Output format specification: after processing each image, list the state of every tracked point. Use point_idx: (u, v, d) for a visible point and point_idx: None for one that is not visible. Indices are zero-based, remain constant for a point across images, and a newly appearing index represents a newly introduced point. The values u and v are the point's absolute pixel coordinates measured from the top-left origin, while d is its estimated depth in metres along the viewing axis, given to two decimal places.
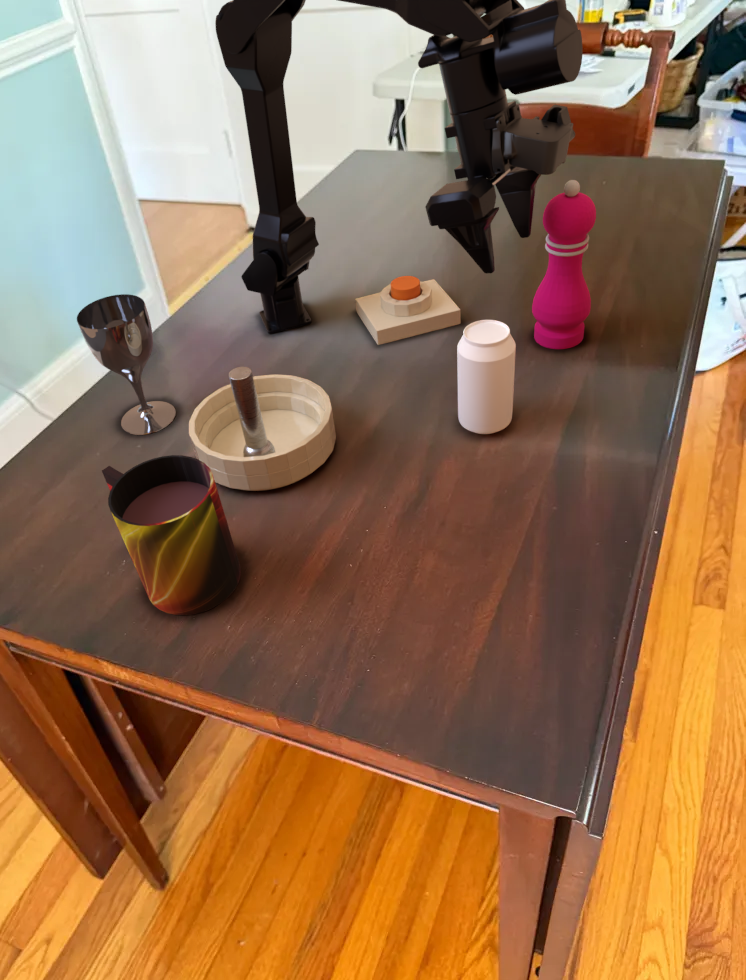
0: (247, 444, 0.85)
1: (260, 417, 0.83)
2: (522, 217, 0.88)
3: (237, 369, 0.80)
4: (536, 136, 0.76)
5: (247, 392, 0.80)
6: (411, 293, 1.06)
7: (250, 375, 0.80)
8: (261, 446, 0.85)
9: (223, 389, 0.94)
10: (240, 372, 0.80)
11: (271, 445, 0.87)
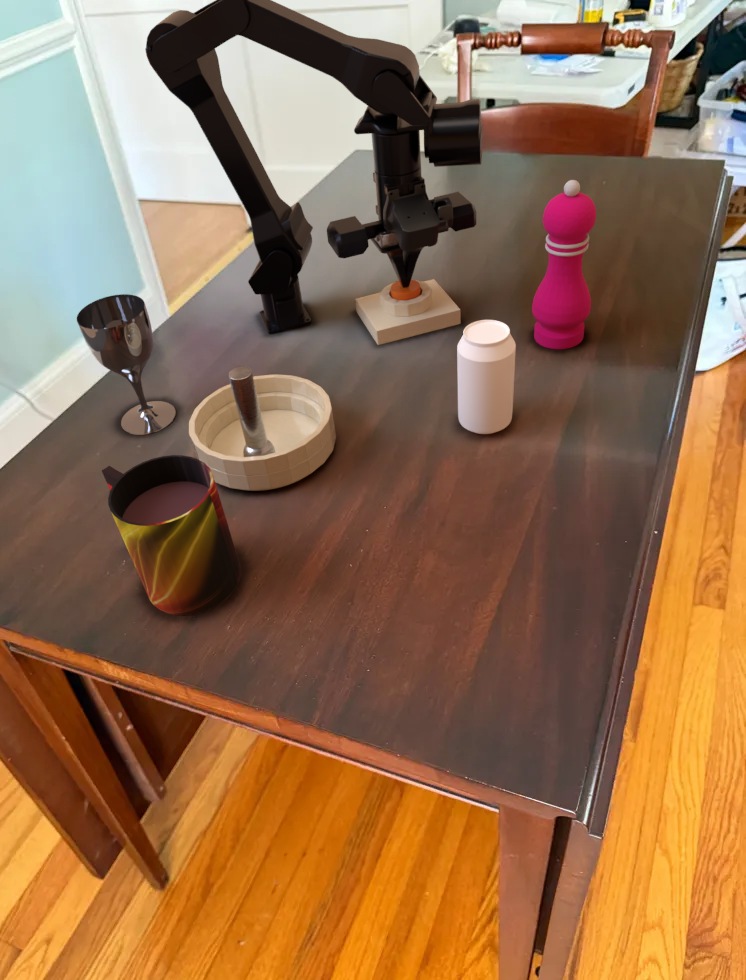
0: (247, 444, 0.85)
1: (260, 417, 0.83)
2: (405, 270, 1.05)
3: (237, 369, 0.80)
4: (403, 219, 0.94)
5: (247, 392, 0.80)
6: (411, 296, 1.06)
7: (250, 375, 0.80)
8: (261, 446, 0.85)
9: (223, 389, 0.94)
10: (240, 372, 0.80)
11: (271, 445, 0.87)
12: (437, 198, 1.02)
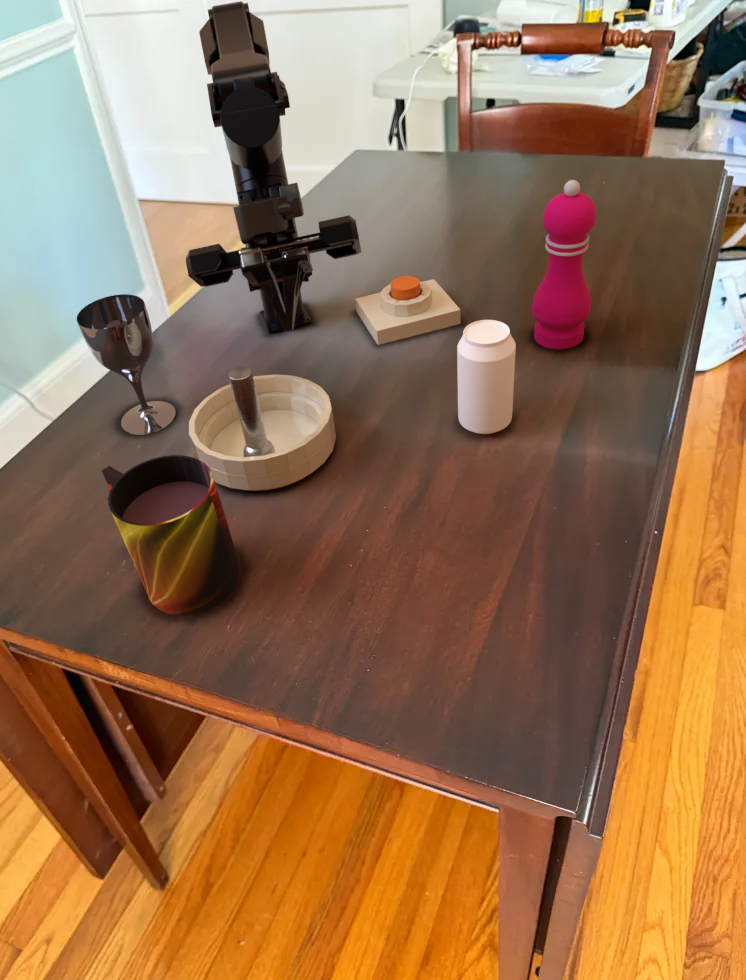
0: (247, 444, 0.85)
1: (260, 417, 0.83)
2: None
3: (237, 369, 0.80)
4: None
5: (247, 392, 0.80)
6: (411, 293, 1.06)
7: (250, 375, 0.80)
8: (261, 446, 0.85)
9: (223, 389, 0.94)
10: (240, 372, 0.80)
11: (271, 445, 0.87)
12: None
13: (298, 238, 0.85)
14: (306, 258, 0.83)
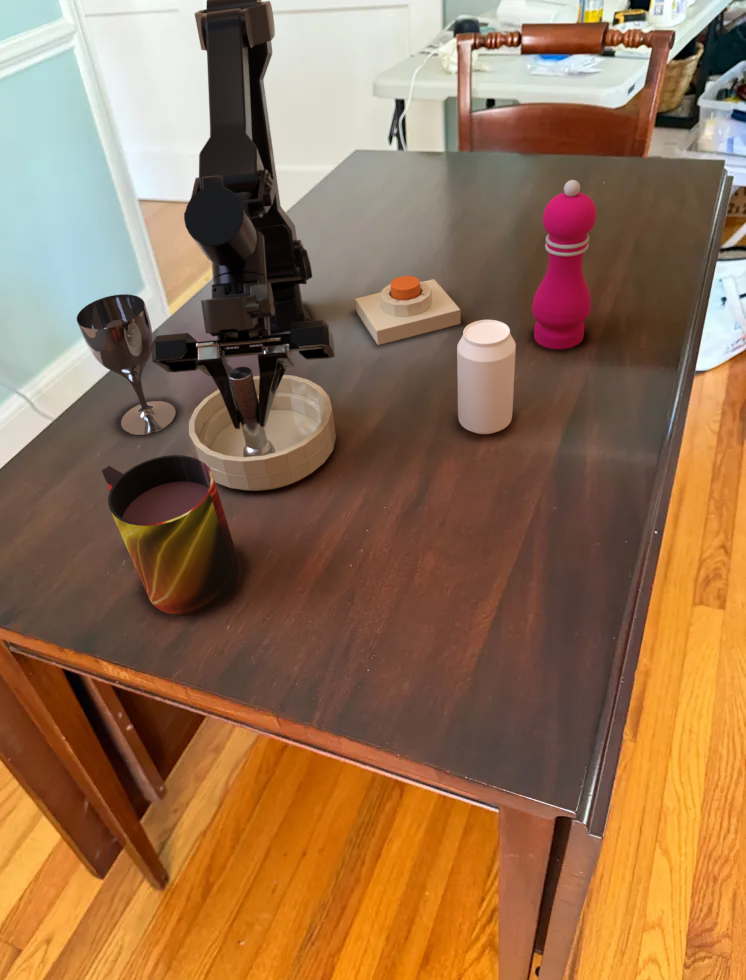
0: (247, 444, 0.85)
1: None
2: None
3: (237, 369, 0.80)
4: None
5: (247, 392, 0.80)
6: (411, 293, 1.06)
7: (250, 375, 0.80)
8: (261, 446, 0.85)
9: None
10: (240, 372, 0.80)
11: (271, 445, 0.87)
12: None
13: (270, 336, 0.82)
14: (285, 356, 0.80)
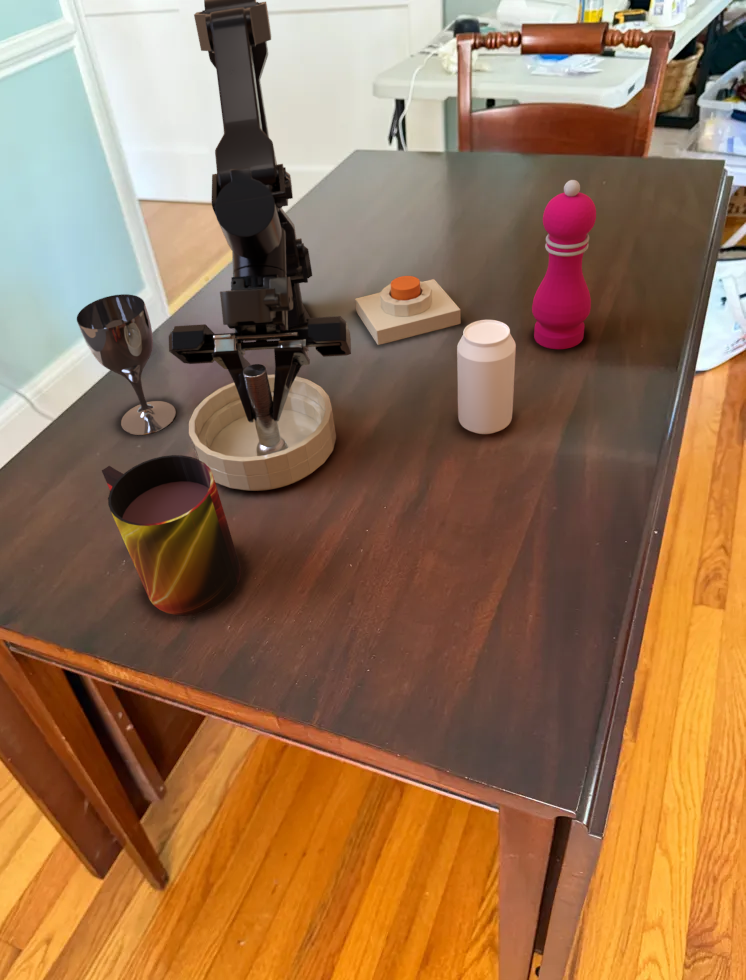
0: (263, 443, 0.85)
1: None
2: None
3: (249, 368, 0.80)
4: None
5: (265, 388, 0.81)
6: (411, 293, 1.06)
7: None
8: (277, 442, 0.86)
9: (223, 389, 0.94)
10: (254, 369, 0.80)
11: (284, 440, 0.87)
12: None
13: (287, 331, 0.82)
14: (301, 351, 0.80)
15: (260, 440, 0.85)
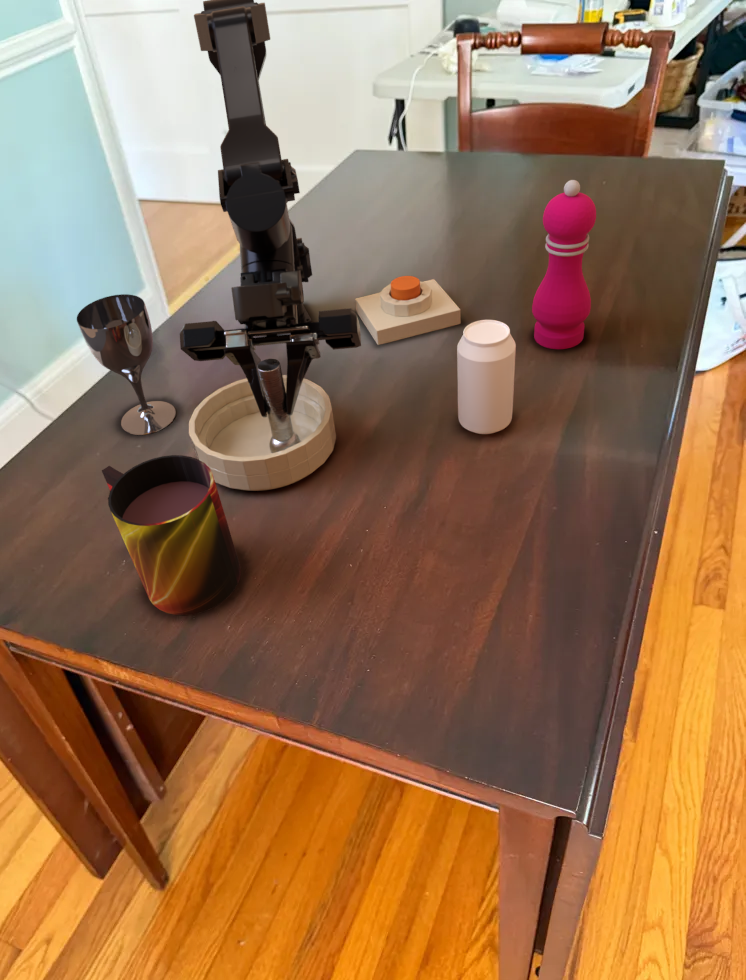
0: (280, 438, 0.86)
1: None
2: None
3: (262, 363, 0.81)
4: None
5: (281, 380, 0.81)
6: (411, 293, 1.06)
7: (279, 363, 0.81)
8: (292, 434, 0.86)
9: (223, 389, 0.94)
10: (268, 364, 0.80)
11: (294, 432, 0.88)
12: None
13: (297, 325, 0.83)
14: (313, 344, 0.81)
15: (276, 436, 0.86)
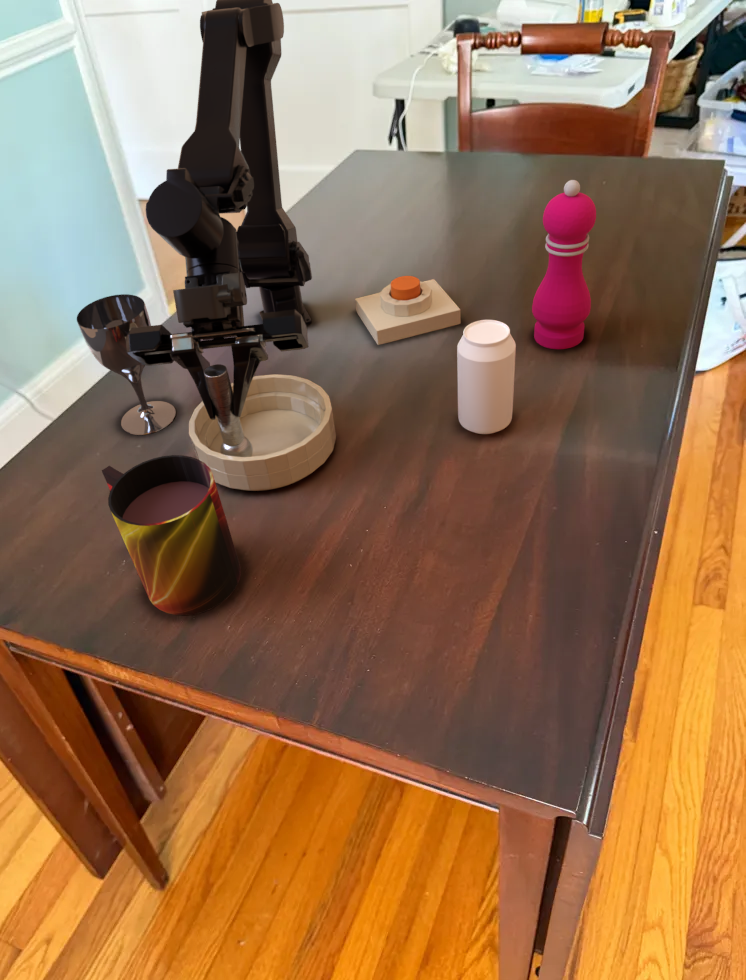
0: None
1: (231, 418, 0.84)
2: None
3: (217, 366, 0.81)
4: None
5: (216, 391, 0.81)
6: (411, 293, 1.06)
7: (220, 376, 0.80)
8: (231, 445, 0.86)
9: None
10: (216, 370, 0.81)
11: (245, 447, 0.87)
12: None
13: (243, 327, 0.83)
14: (258, 346, 0.81)
15: None
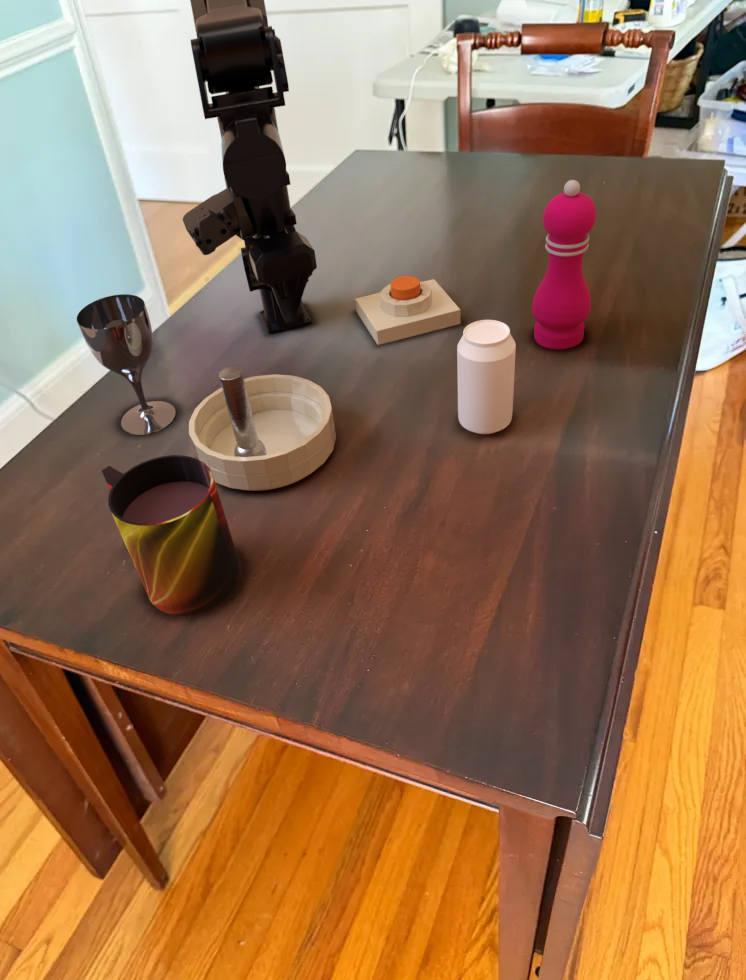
0: (237, 443, 0.86)
1: (249, 419, 0.83)
2: None
3: (229, 369, 0.81)
4: (199, 207, 0.83)
5: (235, 393, 0.81)
6: (411, 293, 1.06)
7: (239, 377, 0.80)
8: (250, 447, 0.85)
9: None
10: (230, 372, 0.80)
11: (261, 447, 0.86)
12: (291, 233, 0.80)
13: (267, 234, 0.82)
14: (264, 283, 0.80)
15: (236, 439, 0.86)
